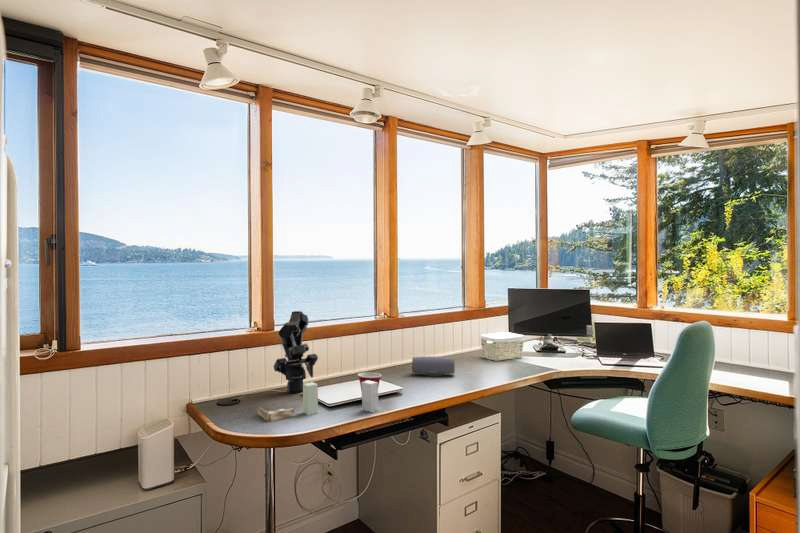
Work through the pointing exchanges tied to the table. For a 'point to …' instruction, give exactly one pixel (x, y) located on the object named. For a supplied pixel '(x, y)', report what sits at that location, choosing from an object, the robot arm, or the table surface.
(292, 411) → the beige flat l-shaped piece
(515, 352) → the storage basket
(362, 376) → the plastic cup
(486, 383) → the table surface
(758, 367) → the table surface
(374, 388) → the skincare box
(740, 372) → the table surface
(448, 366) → the bluetooth speaker
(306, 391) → the sage block
